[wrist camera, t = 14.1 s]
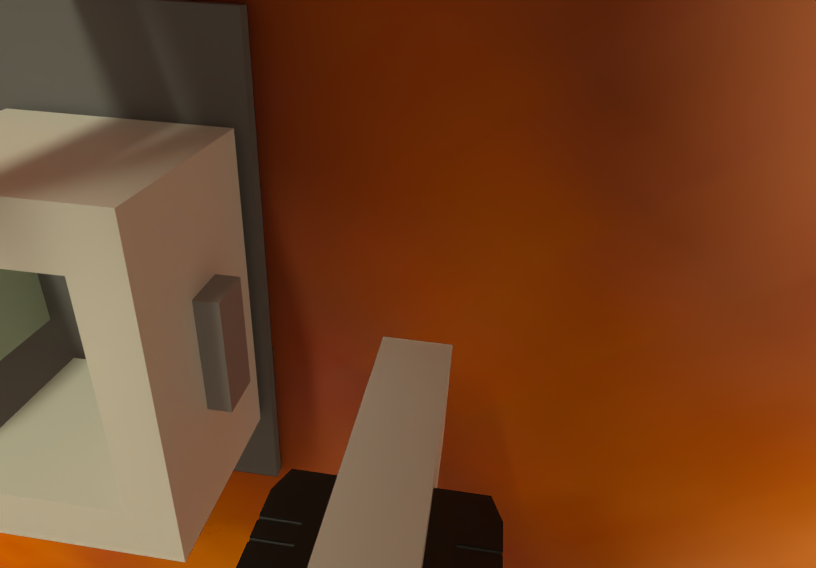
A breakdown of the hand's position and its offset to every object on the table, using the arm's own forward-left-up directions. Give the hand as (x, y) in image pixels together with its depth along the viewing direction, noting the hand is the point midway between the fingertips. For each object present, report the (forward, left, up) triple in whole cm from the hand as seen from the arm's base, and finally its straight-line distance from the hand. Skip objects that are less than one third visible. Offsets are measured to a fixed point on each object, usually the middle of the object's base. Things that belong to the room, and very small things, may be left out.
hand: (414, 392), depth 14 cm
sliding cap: (0, -7, -3) cm, 8 cm away
